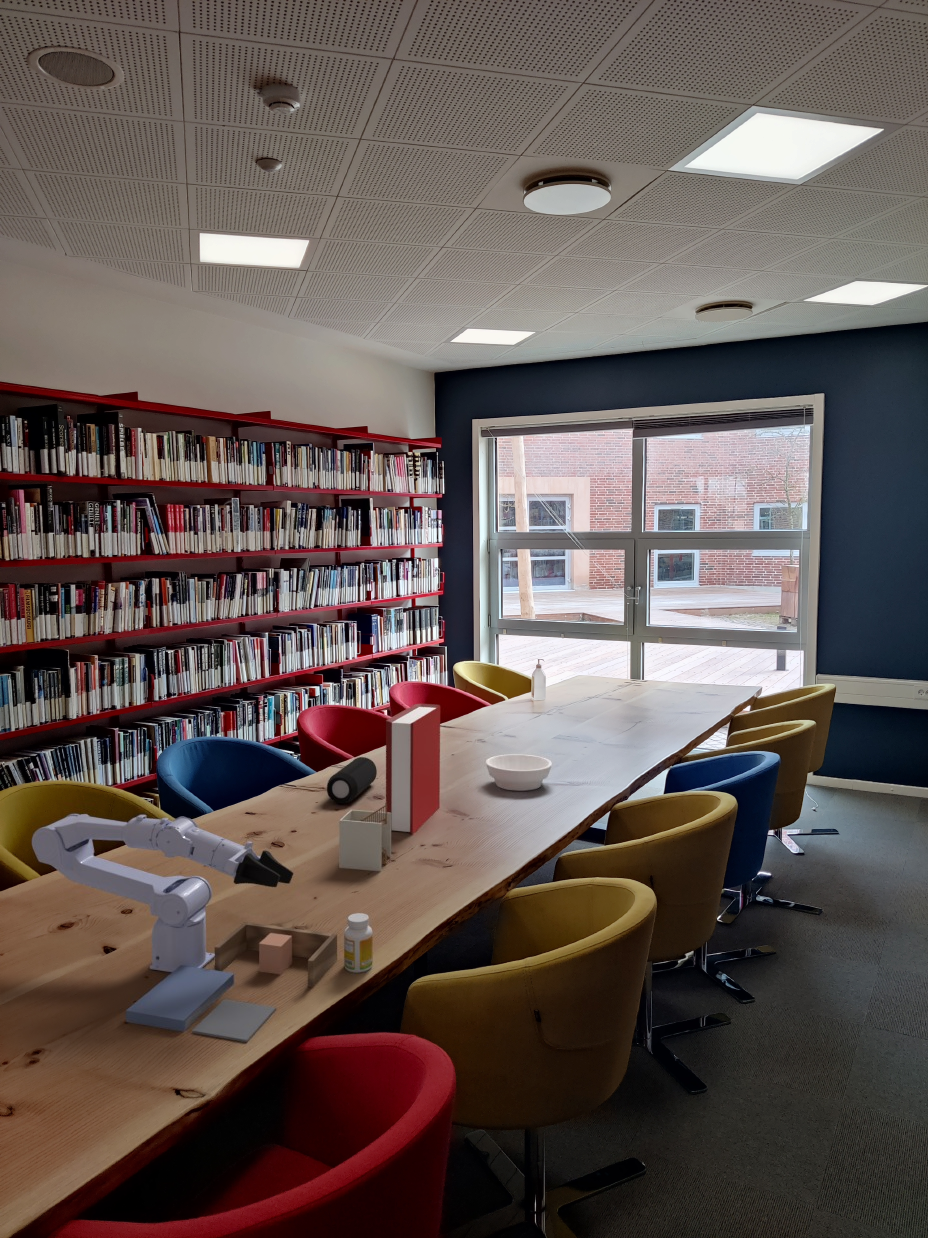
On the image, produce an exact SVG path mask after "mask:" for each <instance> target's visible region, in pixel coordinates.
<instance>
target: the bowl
mask: <svg viewBox="0 0 928 1238" xmlns="http://www.w3.org/2000/svg"><path fill="white" fill-rule="evenodd" d="M552 765H553V763H552V761H551V760H550V759H548V758H545V757H542V756H538V755H532V754H521V753H519V754H518V753H514V754H513V753H510V754H509V753H508V754H499V755H494V756H492V757H489V758H487V759H486V760H485V766H486V768H487V771H488V774H489V776H490V777H492V778H493V779H494V782H495V785H496V786H497V787H499V788H501V789H505V790H508V791H509V790H510V791H519V792H521V791H522V792H523V791H532V790H536V789H538V788H540V787H541V786H542V783H543V780H545V779H547V778H548V776H549V774H550V770H551V768H552Z"/></svg>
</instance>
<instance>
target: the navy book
mask: <svg viewBox="0 0 928 1238" xmlns="http://www.w3.org/2000/svg"><path fill="white" fill-rule="evenodd" d="M234 984H235V973H233V972H227V971H216V970H215V969H210V968H208V969H207V968H204V967H203V968H196V967H190V966H183V965H181V966H179V967H178V968H177V969H176V970H175V971H173V972H170V974H168V975H167V976H166V977H165V978H164V979H163V980H161V981H160V982H159V983H158V984H156V985H155V986H154V987H152V988H151V989H150V990H148V992H146V993H145V994H144V995H143V996H142V997H140V998H139V999H138V1000H137V1001H136V1002H134V1003H133V1004H132V1005H131V1006H130V1007H128V1008H127V1009H125V1022H127V1023H131V1024H138V1025H142V1026H143V1025H144V1026H149V1027H155V1028H160V1029H166V1030H170V1031H171V1030H172V1031H176V1032H177V1031H178V1032H184V1033H185V1031H186V1030H187V1029H189V1028H190V1027H191V1026H192V1025H193V1024H194V1022H196V1021H197V1020H198V1019H199V1018H200V1017H201V1016H202V1015H203V1014H204V1013H205V1012H207V1011H208V1009H209V1008H210V1007H211V1006H212V1005H214V1004H215V1002H217V1001H218V1000H219V999H220V998H221V997H222V996H223V995H224V994H225V993H226V992H227V991H228V990H229V989H230V988H232V986H233V985H234Z"/></svg>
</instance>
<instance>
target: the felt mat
mask: <svg viewBox="0 0 928 1238" xmlns="http://www.w3.org/2000/svg"><path fill="white" fill-rule="evenodd" d="M276 1011H277V1007H275V1006H269V1005H263V1004H258V1003H257V1004H256V1003H252V1002H251V1003H250V1002H243V1001H238V1000H232V999H226V998H225V999H223V1000H222V1001H221V1002H219V1004H218V1005H217V1006H216V1007H215V1008H214V1009H212V1011H210V1013H209V1014H208V1015H206V1016H205V1018H203V1019H202V1020H201V1021H200V1022H199V1023H198V1024H197V1025H196V1026H195V1027H194V1028H193V1029H192V1030H191V1031H192V1034H198V1035H203V1036H207V1037H208V1036H209V1037H212V1038H213V1037H216V1038H221V1039H226V1040H229V1041H231V1040H232V1041H237V1042H243V1043H248V1042H249V1041H250V1040H251V1039H252V1038H253V1037H254V1035H255V1034H256V1033H257V1032H258V1031H259V1030H260V1029H261V1028H262V1026H263V1025H264V1024H265V1023H266V1022H267V1021H268V1020H269V1018H270V1017H271V1016H272V1015H273V1014H274V1013H275V1012H276Z"/></svg>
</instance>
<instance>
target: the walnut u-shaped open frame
mask: <svg viewBox="0 0 928 1238" xmlns="http://www.w3.org/2000/svg"><path fill="white" fill-rule="evenodd" d="M270 933H275V934H282V935H289V936H292V957H299V958H307V959H308V960H307V987H308V988H314V987H315V986H316V985H317V984H318V983H319V981H320V980H321V979H322V978H323V977H324V976H325V975H326V973H327V972H328V971H329V970H330V968H331V967H332V966H333V965H334V964H335V963H336V962H337V960H338V934H336V933H330V932H322V931H314V930H308V929H298V928H292V927H286V926H285V927H284V926H278V925H270V924H263V923H256V922H248V921H243V922H242V923H241V924H240V925H239V926H238V927H236V928H235V929H234V930H233V931H231V932H230V933H229V934H228V935H226V937H224V938H223V939H222V940H221V941H220V942H219V943H217V944H216V945H215V946H214V954H215V957H214V970H216V971H222V972H224V970H225V969H226V968H228V966H230V964H231V963H233V962H234V961H235V960H236V959H237V958H238V957H239V956H241V955H242V954H243V953H244V952H245V951H246V950H252V951H258V952H259V943H260V942H261V941H262V940H263V939H265V938H266V937H267V936H268V935H269V934H270Z"/></svg>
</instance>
